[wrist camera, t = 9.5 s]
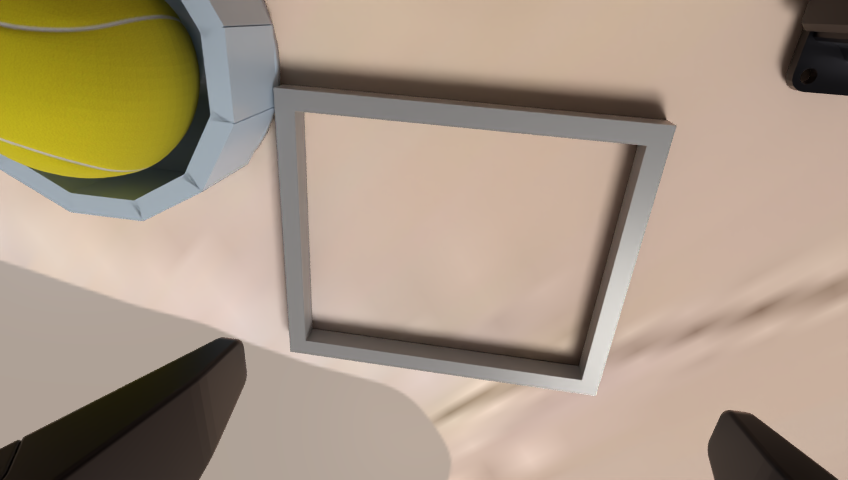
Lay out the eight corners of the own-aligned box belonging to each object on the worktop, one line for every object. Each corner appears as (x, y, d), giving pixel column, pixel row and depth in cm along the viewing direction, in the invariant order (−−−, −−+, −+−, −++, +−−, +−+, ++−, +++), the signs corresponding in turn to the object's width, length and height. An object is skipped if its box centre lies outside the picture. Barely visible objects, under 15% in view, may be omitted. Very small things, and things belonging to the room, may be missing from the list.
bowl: (270, -105, 16) (207, -138, 13) (287, 196, 21) (245, 233, 18) (-21, -121, 17) (-155, -156, 14) (59, 170, 22) (-25, 200, 19)
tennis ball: (63, -71, 17) (-183, -120, 11) (247, -2, 17) (108, -11, 11) (66, 114, 20) (-125, 158, 14) (222, 171, 21) (102, 240, 14)
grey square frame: (667, 120, 18) (676, 125, 17) (591, 381, 23) (595, 396, 22) (283, 84, 19) (273, 87, 18) (297, 339, 25) (290, 351, 24)
